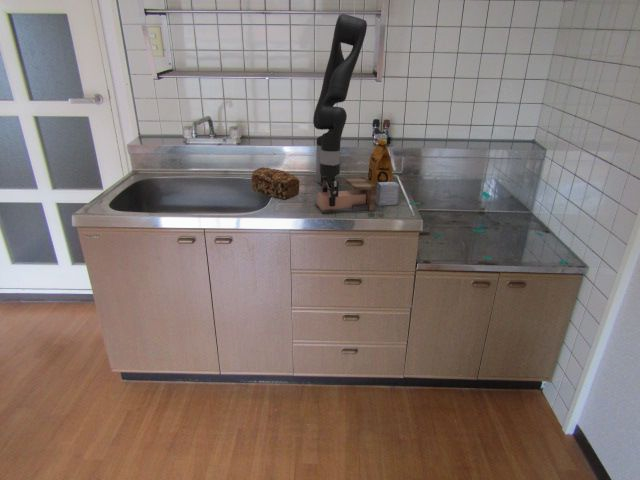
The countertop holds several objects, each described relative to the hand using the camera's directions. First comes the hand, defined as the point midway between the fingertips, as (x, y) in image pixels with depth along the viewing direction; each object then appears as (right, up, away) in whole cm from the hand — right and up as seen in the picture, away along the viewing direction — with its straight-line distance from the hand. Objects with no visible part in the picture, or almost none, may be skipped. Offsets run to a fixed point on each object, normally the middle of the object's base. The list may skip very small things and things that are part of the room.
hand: (328, 202), depth 171 cm
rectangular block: (+5, -1, +2) cm, 6 cm away
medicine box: (+24, 0, +8) cm, 25 cm away
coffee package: (+23, +7, +23) cm, 33 cm away
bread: (-22, +5, +17) cm, 29 cm away
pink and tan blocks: (+6, -2, +3) cm, 7 cm away
